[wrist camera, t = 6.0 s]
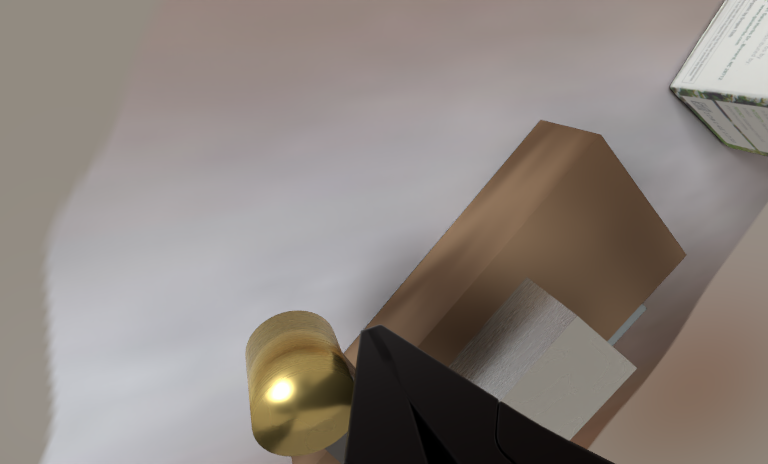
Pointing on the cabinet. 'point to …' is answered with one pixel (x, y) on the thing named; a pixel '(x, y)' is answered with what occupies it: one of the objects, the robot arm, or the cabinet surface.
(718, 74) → the syrup box
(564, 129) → the body
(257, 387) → the lever
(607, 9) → the cabinet surface
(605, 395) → the grey block
